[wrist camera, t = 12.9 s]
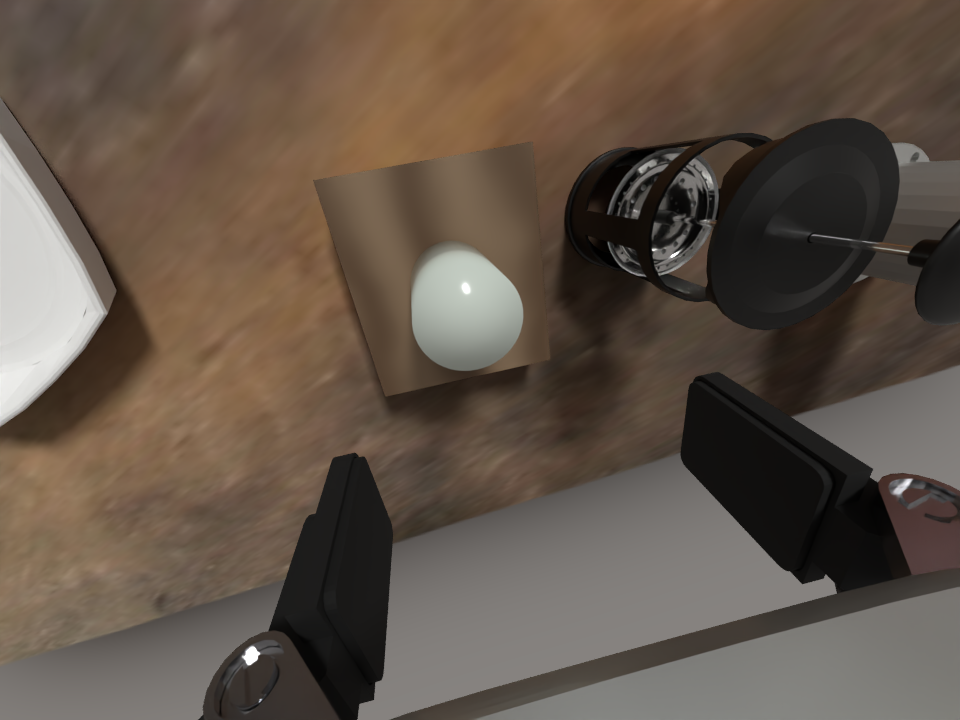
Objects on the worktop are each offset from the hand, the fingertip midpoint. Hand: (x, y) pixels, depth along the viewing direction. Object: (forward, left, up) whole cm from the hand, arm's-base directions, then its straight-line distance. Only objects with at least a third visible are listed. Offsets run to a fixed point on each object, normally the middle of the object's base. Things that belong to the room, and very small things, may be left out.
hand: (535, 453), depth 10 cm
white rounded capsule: (+1, 0, -19) cm, 19 cm away
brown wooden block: (+1, 0, -24) cm, 24 cm away
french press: (-15, -2, -24) cm, 28 cm away
